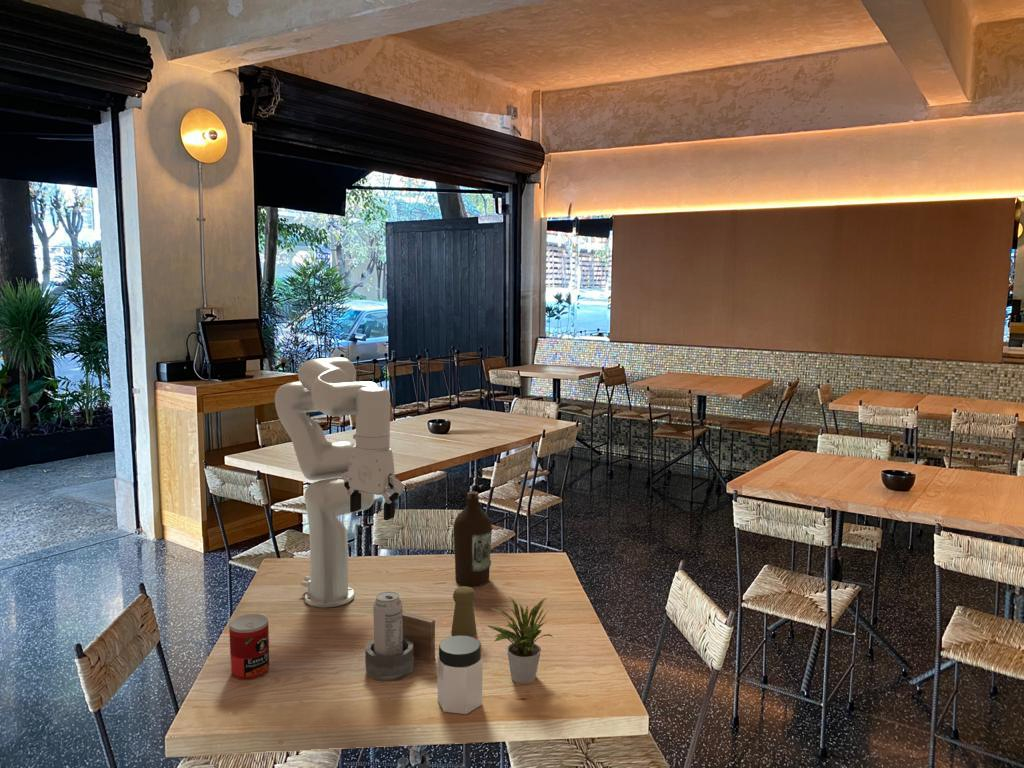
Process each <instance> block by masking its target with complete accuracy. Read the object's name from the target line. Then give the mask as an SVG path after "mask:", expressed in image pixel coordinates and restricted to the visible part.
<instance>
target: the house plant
mask: <svg viewBox="0 0 1024 768" xmlns="http://www.w3.org/2000/svg"><path fill="white" fill-rule="evenodd" d="M509 599H510V601H511V603H512V605H513V608H514V610H513V609H512V608H509V610H510V611H512V613H513V615H514V616H515V618H516V621H517V622H516V621H515V619H514V617H512V616H510V615H509V614H508V613H507V612H505V611H503V610H501V609H497V608H491V607H490V608H489V607H488V609H490V610H494V611H496V612H498V614H499V615H502V616H503V617H506V618H507V620H505V619H503V618H499V621H500V620H502V621H505V622H506V623H508V624H506V627H508V628H510V629H512V630H513V631H514V632H513V631H511V630H508V629H506V628H503V627H500V626H495V625H487V627H488V628H490V629H491V630H493V631H497V632H499V633H498V634H496V635H495V636H494V638H495V640H494V641H493V643H495V642H498V641H502V640H505V639H507V640H508V641H510V644H509V645H508V646H507V648H506V651H507V658H508V665H509V672H510V677H511V678H510V679H511V680H512V681H513V682H515V683H518V684H523V685H526V684H531V683H533V682H534V681H535V680H536V677H537V673H538V672H537V671H538V668H539V660H540V656H541V651H542V649H541V646H539V645H538V644H537V643H535V642H536V641H538V640H539V639H540V638H542V637H551V638H552V639H554V637H553V635H552V634H550V633H549V634H547V633H546V634H543V635H541V636H539V635H540V634H541V632H542V630H541V629H540V628H541V627H543V625H544V624H546V623H547V622H548V620H545V621H544V618H545V617H546V616H547V614H548V612H549V610H547V611H546V612H545V613H544V615H543V616H542V614H543V612H544V610H545V607H543V608H542V606H543V603H544V602H545V601H546V600H547V597H545V598H543V599H541V600H540V601H539V602H538V603H537V604H536V605H534V606H533V607H532V609H531V610H530V611H529V606H528V605H527V606H526V607H525V611H524V607H523V606H522V605H521V603H518V604H517V602H516V601H515V600H514V599H513V598H512V597H511V596H509ZM518 605H519V606H518ZM541 608H542V609H541ZM540 609H541V611H540ZM539 611H540V612H539ZM520 613H521V616H520ZM538 613H539V614H538ZM537 615H538V616H537ZM541 616H542V617H541ZM540 618H541V619H540ZM539 620H540V621H539ZM510 621H511V622H510ZM538 621H539V622H538ZM543 621H544V622H543ZM517 624H518V625H517Z"/></svg>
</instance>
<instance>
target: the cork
mask: <svg viewBox="0 0 1024 768" xmlns="http://www.w3.org/2000/svg"><path fill="white" fill-rule="evenodd" d="M452 598H453V602H454V603H455V604H454V609H453V617H452V625H451V630H450V635H451V637H452V636H470V637H473V638H475V636H476V635H477V625H476V618H475V609H474V601H475V598H476V592H475V590H474V589H473V587H471V586H465V585H462V586H458V587H457V588H455V589H454V591H453V594H452Z"/></svg>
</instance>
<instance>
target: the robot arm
mask: <svg viewBox="0 0 1024 768" xmlns="http://www.w3.org/2000/svg"><path fill="white" fill-rule="evenodd" d="M297 371H298V373H297V377H298V381H292V382H288V383H285V384H282V385H280V386H279V387H278V388H277V389H276V392H275V394H274V405H275V410H276V413H277V417H278V420H279V421H280V423H281V425H282V426H283V428H284V430H285V431H286V432H287V434H288V436H289V438H290V440H291V442H292V446H293V450H294V452H295V456H296V459H297V462H298V464H299V468H300V471H301V473H302V475H303V476H304V478H306V480H310V481H314V482H312V483H311V484H309V485H308V486H307V487H306V489H305V491H304V503H305V507H306V513H307V518H308V519H307V520H308V530H309V531H308V532H309V533H308V534H309V564H310V567H309V569H310V574H309V575H310V576H309V575H305V576H304V578H303V580H302V581H301V582H300V584H301V587H306V588H307V592H306V593H305V594H304V602H305V603H306V604H307V605H309V606H311V607H316V608H333V607H335V608H336V607H340V606H344V605H345V604H348V603H350V602H351V601H352V600H353V599H354V598H355V590H354V589H353V588H352V587H350V586H349V551H348V549H349V547H348V542H349V541H348V531H347V528H346V526H345V525H344V523H342V522H341V521H340V519H339V518H338V517H339V516H343V515H347V514H352V513H358V512H361V511H362V512H363V511H365V510H368V509H370V508H371V506H373V504H374V500H375V499H374V498H375V496H376V495H378V496H380V495H381V496H382V497H383V499H384V501H385V503H384V504H383V520H384V521H389V520H391V519H393V518H395V515H396V502H397V501H398V500H399V498H400V497H401V496H402V494H403V491H404V490H405V488H406V486H405V484H404V483H402V482H401V480H399V479H398V478H397V477H396V476H395V463H394V453H393V450H392V448H391V447H390V443H391V442H390V441H391V440H390V437H391V436H390V434H391V429H390V428H391V427H390V426H391V393H390V391H389V390H388V389H387V388H386V387H383V386H380V385H379V384H377V382H374V381H370V380H367V381H364V380H363V381H356V379H357V370H356V367H355V365H354V363H353V362H352V361H351V360H350V359H349V358H346V357H327V358H326V357H325V358H324V357H323V358H313V359H308V360H306V361H304V362H303V363H302V364H301V366H299V368H298V370H297ZM312 412H314V413H315V412H320V413H322V414H323V415H327V416H329V417H341V416H351V415H353V416H354V415H355V433H354V434H353V436H352V438H353V440H355V443H353V442H352V441H347V440H346V441H345V440H342V441H332V442H331V441H328V440H327V438H326V436H325V432H324V430H323V428H322V427H321V425H320V424H319V423H318V422H317V421H316V420H314V419H313V418H312V417H310V416H309V415H307V414H306V413H312ZM394 488H395V491H394Z"/></svg>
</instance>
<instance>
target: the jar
mask: <svg viewBox="0 0 1024 768" xmlns="http://www.w3.org/2000/svg"><path fill="white" fill-rule="evenodd" d="M437 701H438V703H439V704H440V707H441V709H442V712H444V713H450V714H459V715H460V714H461V715H468V714H469V713H471V712H473V711H474V710H476V709H477V708H479V707H481V706H482V705H483V658H482V644H481V642H480V640H478V638H475V637H470V636H452V635H451V636H450V637H445V639H443V640H441V641H440V642H439V645H438V655H437Z"/></svg>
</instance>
